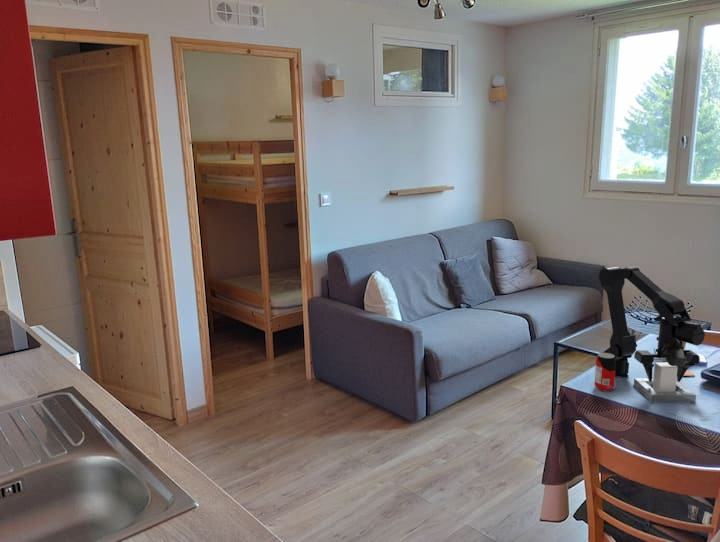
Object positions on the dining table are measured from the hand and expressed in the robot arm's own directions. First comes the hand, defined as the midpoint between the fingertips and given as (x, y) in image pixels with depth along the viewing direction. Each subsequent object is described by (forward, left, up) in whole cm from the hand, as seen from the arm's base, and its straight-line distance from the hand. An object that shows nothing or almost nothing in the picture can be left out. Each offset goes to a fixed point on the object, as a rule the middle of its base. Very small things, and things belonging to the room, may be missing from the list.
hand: (664, 381), depth 189 cm
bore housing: (0, 0, -4) cm, 4 cm away
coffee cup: (+21, +37, -4) cm, 43 cm away
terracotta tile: (+13, +19, -4) cm, 23 cm away
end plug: (0, 0, -4) cm, 4 cm away
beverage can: (-18, +4, -4) cm, 19 cm away
